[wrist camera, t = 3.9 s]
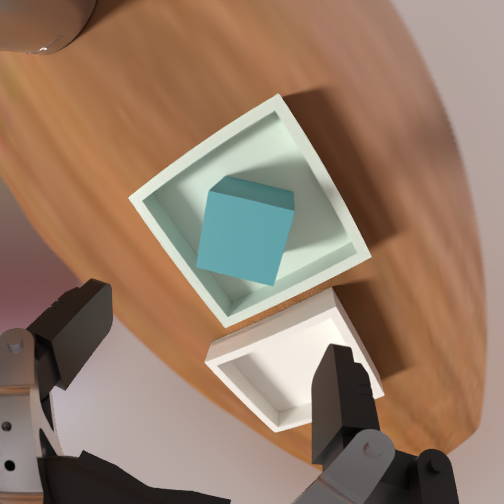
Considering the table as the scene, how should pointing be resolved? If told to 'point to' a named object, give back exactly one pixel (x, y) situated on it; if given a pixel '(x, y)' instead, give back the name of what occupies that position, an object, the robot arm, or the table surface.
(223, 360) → the cream tray
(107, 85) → the table surface
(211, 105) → the table surface
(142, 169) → the table surface
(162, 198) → the sage tray
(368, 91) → the table surface
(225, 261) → the teal cube
